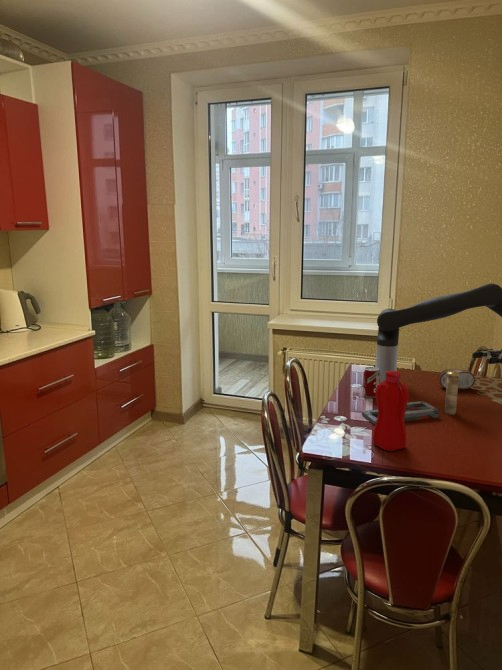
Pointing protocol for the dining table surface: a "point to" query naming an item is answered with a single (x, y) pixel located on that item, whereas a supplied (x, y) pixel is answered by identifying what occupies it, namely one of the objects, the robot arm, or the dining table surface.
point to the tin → (464, 380)
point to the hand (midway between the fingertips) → (480, 358)
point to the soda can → (370, 381)
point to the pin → (451, 392)
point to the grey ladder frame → (408, 412)
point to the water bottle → (391, 413)
